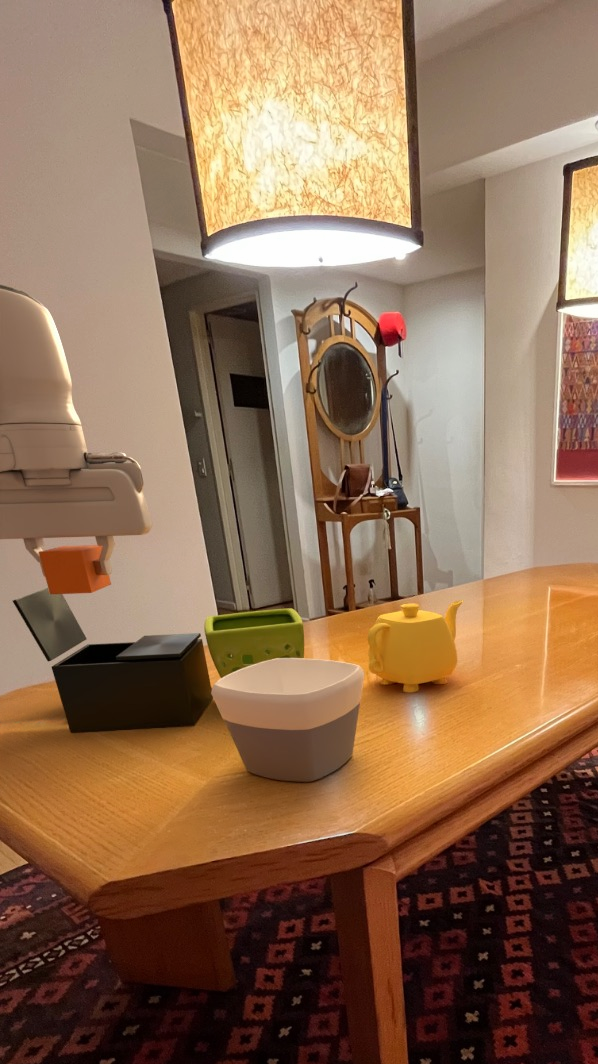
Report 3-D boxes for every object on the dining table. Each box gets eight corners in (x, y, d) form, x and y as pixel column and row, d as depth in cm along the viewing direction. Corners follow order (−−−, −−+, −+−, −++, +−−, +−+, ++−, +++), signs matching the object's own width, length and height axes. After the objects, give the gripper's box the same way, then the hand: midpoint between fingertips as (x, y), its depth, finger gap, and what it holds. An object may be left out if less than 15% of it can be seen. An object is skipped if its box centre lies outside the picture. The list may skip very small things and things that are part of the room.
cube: (91, 593, 84) (81, 550, 82) (49, 594, 83) (38, 551, 81) (111, 584, 90) (102, 544, 88) (72, 585, 90) (62, 546, 88)
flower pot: (304, 683, 114) (294, 606, 108) (315, 707, 102) (305, 622, 96) (218, 692, 110) (203, 613, 105) (219, 719, 98) (202, 631, 93)
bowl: (285, 734, 92) (274, 653, 87) (385, 748, 86) (379, 663, 81) (209, 778, 79) (190, 686, 74) (320, 798, 74) (308, 700, 69)
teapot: (348, 684, 112) (340, 606, 107) (439, 662, 124) (436, 590, 119) (397, 702, 103) (392, 618, 98) (491, 676, 115) (491, 599, 109)
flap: (51, 660, 90) (47, 661, 90) (87, 639, 102) (84, 640, 102) (15, 599, 86) (11, 600, 86) (57, 584, 98) (53, 585, 98)
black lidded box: (70, 733, 95) (49, 660, 90) (103, 704, 106) (85, 638, 102) (194, 725, 96) (179, 653, 91) (213, 698, 108) (200, 632, 103)
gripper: (145, 452, 84) (168, 569, 90) (-28, 456, 82) (7, 574, 88) (128, 451, 78) (154, 575, 84) (-58, 455, 76) (-18, 581, 82)
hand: (78, 575), depth 86 cm, fingers closed on cube, 5 cm apart
